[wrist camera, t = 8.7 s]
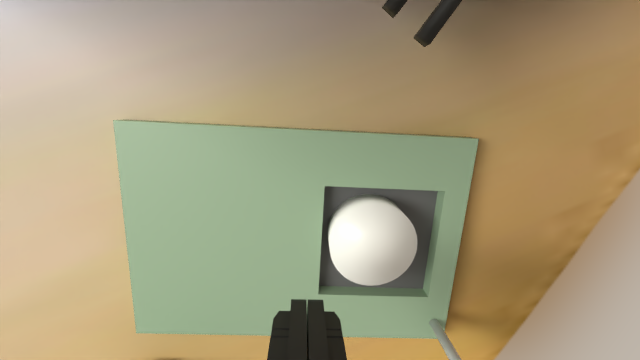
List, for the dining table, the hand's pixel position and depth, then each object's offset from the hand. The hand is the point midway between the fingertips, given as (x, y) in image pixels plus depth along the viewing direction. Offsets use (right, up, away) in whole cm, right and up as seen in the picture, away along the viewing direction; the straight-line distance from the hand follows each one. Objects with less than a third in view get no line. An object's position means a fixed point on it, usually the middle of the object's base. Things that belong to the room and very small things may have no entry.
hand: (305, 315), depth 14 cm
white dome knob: (+4, +2, +9) cm, 10 cm away
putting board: (-1, +2, +9) cm, 9 cm away
